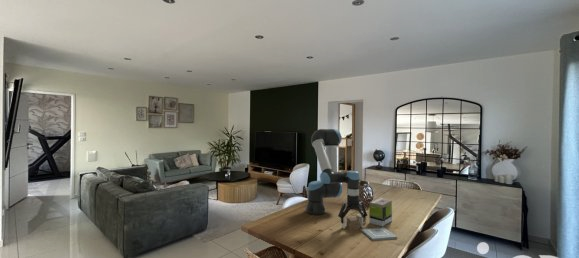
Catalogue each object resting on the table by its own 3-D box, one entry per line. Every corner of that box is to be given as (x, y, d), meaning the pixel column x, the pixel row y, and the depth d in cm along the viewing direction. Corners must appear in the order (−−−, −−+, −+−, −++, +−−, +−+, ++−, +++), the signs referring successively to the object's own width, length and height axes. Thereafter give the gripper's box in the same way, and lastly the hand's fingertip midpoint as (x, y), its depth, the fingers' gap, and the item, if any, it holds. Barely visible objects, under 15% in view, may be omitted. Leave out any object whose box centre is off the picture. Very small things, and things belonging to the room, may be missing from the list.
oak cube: (355, 221, 177) (356, 214, 177) (362, 220, 178) (362, 213, 178) (359, 223, 173) (359, 216, 172) (365, 223, 173) (366, 216, 173)
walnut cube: (346, 226, 168) (346, 217, 168) (354, 225, 169) (354, 216, 169) (350, 229, 162) (350, 220, 162) (358, 229, 163) (359, 220, 163)
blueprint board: (361, 230, 160) (361, 228, 160) (383, 229, 163) (383, 227, 163) (372, 240, 147) (372, 238, 147) (397, 238, 150) (397, 236, 150)
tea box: (378, 217, 185) (379, 197, 185) (392, 221, 178) (392, 200, 178) (368, 222, 175) (369, 201, 174) (382, 227, 167) (383, 204, 167)
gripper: (337, 197, 159) (337, 230, 160) (373, 195, 164) (372, 228, 164) (333, 194, 167) (333, 226, 167) (367, 192, 172) (366, 224, 172)
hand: (352, 227), depth 166 cm, fingers open, 12 cm apart
